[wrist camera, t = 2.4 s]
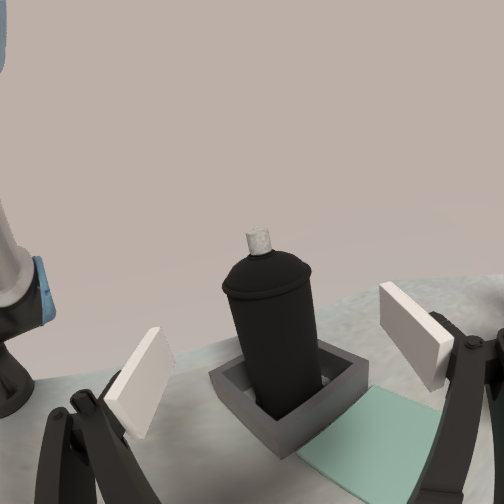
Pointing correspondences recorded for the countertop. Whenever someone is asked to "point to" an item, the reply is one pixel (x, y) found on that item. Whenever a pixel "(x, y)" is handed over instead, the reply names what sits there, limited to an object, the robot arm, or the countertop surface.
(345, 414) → the occupied pad
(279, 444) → the grey square tray
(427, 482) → the robot arm
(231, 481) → the countertop surface
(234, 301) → the aerosol can
